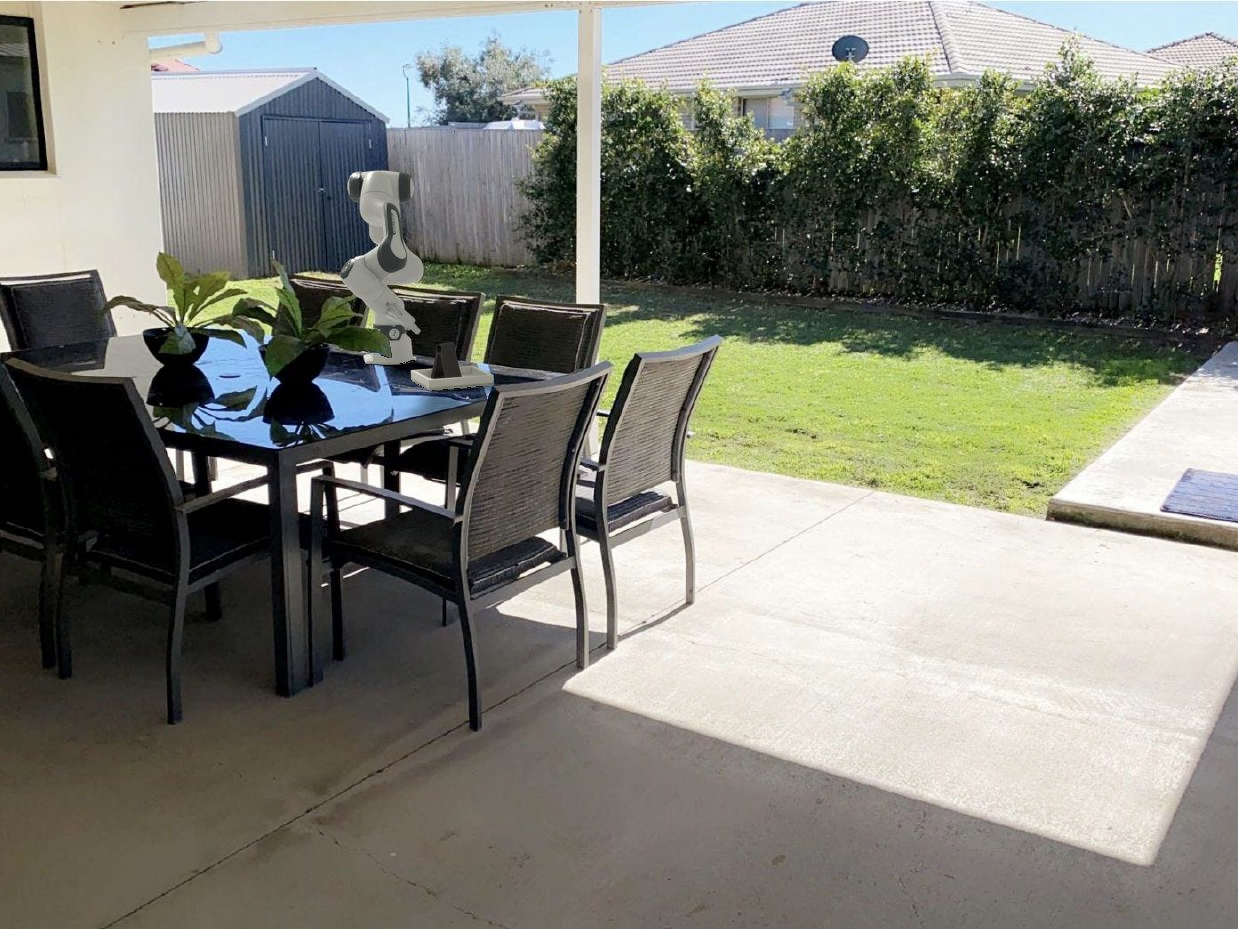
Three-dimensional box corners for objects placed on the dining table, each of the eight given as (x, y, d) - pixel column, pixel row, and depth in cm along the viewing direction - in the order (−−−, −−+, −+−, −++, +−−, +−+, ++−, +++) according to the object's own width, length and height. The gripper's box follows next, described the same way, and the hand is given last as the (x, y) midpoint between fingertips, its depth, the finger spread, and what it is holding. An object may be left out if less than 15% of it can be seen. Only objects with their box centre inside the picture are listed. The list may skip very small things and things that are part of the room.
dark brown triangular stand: (462, 379, 386) (461, 343, 383) (449, 381, 382) (447, 345, 379) (444, 375, 392) (442, 340, 389) (430, 378, 388) (429, 342, 384)
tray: (411, 380, 389) (410, 370, 388) (473, 375, 398) (473, 365, 397) (429, 391, 372) (428, 380, 371) (493, 385, 381) (493, 375, 380)
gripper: (398, 297, 360) (430, 327, 366) (381, 291, 377) (411, 319, 384) (385, 312, 359) (417, 342, 366) (368, 305, 377) (399, 333, 383)
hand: (414, 330), depth 375 cm, fingers open, 8 cm apart
